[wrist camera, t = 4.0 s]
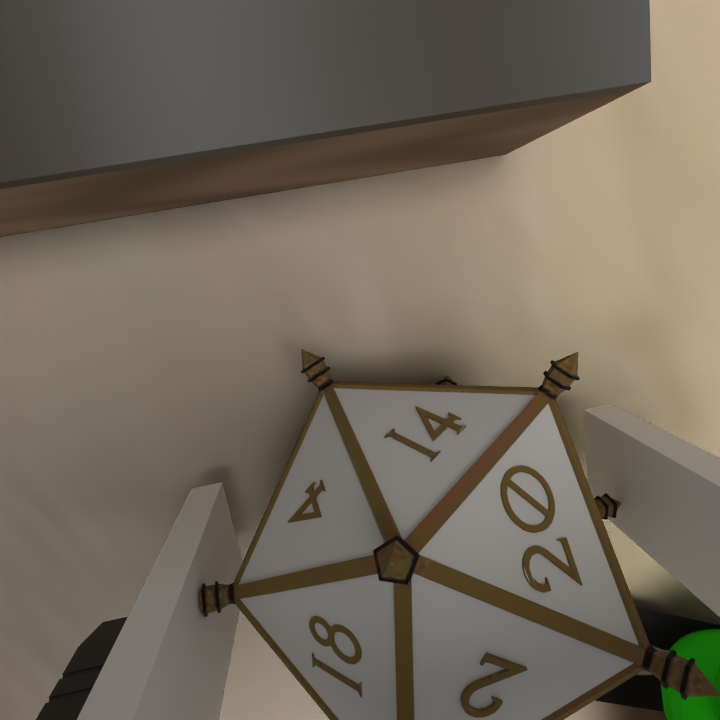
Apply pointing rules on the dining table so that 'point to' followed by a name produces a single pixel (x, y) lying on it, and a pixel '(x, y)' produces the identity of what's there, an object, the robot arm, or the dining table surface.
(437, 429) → the game die
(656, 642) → the toy figure
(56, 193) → the dark gray square base
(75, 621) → the dining table surface
